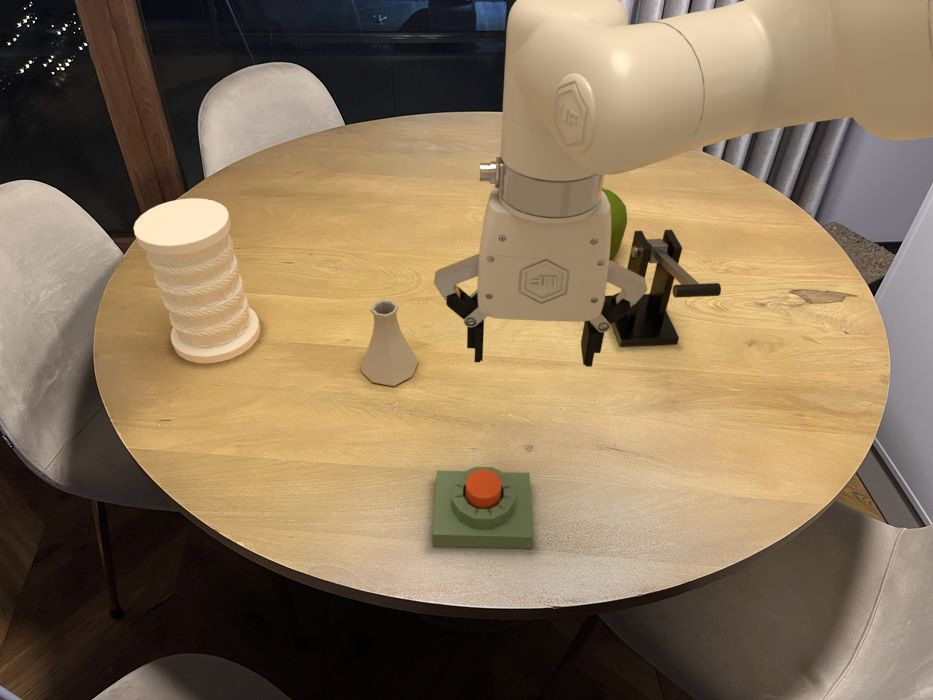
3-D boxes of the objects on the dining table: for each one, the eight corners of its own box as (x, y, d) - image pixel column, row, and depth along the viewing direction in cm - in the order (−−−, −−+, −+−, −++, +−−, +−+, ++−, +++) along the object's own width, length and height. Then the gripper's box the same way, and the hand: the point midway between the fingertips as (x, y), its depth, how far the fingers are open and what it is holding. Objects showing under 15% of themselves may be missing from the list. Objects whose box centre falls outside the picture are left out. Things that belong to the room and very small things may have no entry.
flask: (428, 361, 89) (426, 301, 83) (395, 394, 85) (390, 333, 78) (384, 342, 92) (379, 282, 85) (350, 373, 87) (341, 312, 81)
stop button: (500, 480, 70) (501, 469, 69) (501, 509, 68) (501, 498, 67) (466, 479, 70) (466, 468, 69) (465, 508, 68) (465, 497, 67)
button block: (527, 485, 74) (530, 461, 72) (531, 549, 68) (534, 526, 66) (437, 482, 75) (436, 459, 72) (432, 546, 69) (431, 524, 66)
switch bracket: (677, 344, 92) (701, 260, 83) (619, 346, 92) (638, 262, 83) (656, 299, 100) (676, 217, 91) (603, 301, 99) (618, 219, 90)
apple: (618, 276, 104) (631, 214, 97) (548, 267, 106) (555, 206, 98) (621, 238, 112) (632, 178, 105) (556, 230, 114) (563, 171, 107)
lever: (719, 301, 75) (722, 281, 74) (675, 303, 75) (678, 283, 74) (669, 255, 90) (671, 238, 89) (632, 257, 89) (634, 239, 88)
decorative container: (220, 374, 87) (182, 257, 75) (154, 347, 91) (108, 231, 79) (277, 323, 95) (251, 210, 83) (214, 300, 99) (180, 188, 87)
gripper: (427, 202, 47) (432, 379, 58) (680, 211, 46) (635, 387, 58) (436, 153, 52) (439, 323, 64) (661, 160, 52) (623, 330, 63)
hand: (532, 354), depth 61 cm, fingers open, 9 cm apart
